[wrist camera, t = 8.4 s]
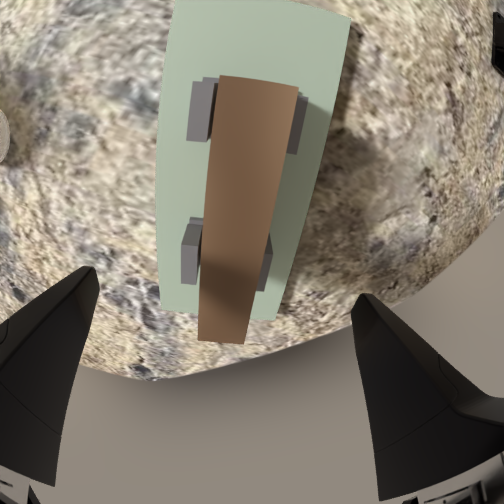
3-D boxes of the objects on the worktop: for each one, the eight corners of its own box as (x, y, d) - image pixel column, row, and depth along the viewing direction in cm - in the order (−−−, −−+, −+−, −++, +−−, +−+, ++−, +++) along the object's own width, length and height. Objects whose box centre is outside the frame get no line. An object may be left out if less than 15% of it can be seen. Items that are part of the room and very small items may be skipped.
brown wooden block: (273, 86, 13) (299, 87, 7) (242, 263, 20) (243, 344, 14) (229, 80, 12) (219, 74, 7) (208, 260, 19) (197, 340, 13)
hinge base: (344, 21, 11) (372, 9, 8) (273, 310, 25) (278, 346, 21) (181, -4, 10) (165, -25, 7) (164, 300, 24) (154, 335, 20)
